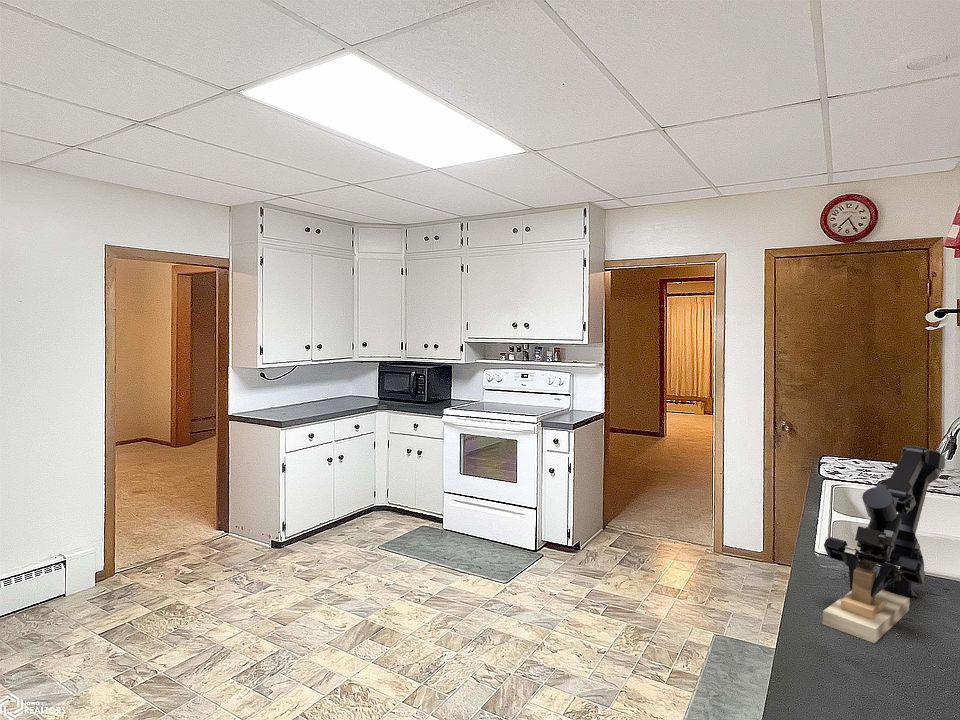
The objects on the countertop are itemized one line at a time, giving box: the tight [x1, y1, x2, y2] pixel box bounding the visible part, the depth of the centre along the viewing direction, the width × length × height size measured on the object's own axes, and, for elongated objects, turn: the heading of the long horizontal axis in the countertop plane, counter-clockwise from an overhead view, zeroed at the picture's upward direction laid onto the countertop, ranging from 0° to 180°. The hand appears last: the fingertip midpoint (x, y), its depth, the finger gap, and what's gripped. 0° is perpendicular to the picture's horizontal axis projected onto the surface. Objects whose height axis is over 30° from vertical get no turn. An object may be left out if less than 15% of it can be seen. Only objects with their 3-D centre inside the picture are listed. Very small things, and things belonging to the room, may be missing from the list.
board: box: [821, 589, 911, 644], centre depth 137 cm, size 24×10×3 cm, turn 131°
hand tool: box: [858, 560, 875, 571], centre depth 169 cm, size 19×4×5 cm, turn 133°
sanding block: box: [841, 567, 884, 619], centre depth 134 cm, size 8×6×8 cm
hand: (861, 592), depth 133 cm, fingers closed on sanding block, 4 cm apart
